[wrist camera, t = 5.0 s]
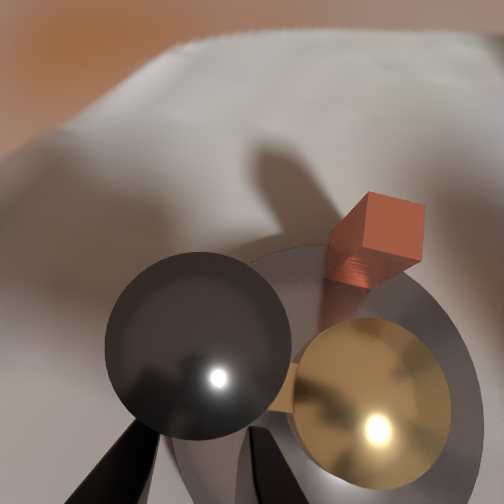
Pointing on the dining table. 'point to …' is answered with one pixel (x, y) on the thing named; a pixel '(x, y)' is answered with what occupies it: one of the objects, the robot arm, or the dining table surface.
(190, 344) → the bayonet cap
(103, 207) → the dining table surface
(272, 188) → the dining table surface
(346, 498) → the post base
